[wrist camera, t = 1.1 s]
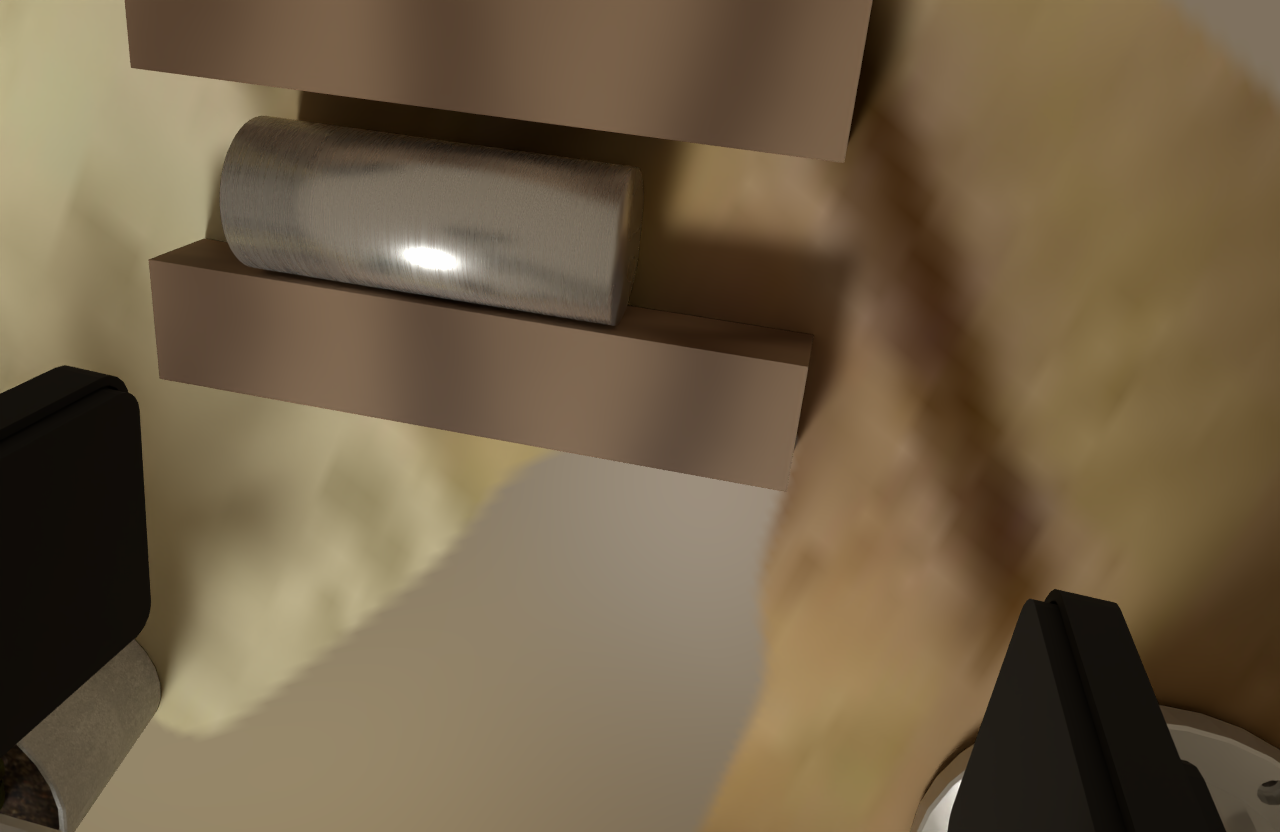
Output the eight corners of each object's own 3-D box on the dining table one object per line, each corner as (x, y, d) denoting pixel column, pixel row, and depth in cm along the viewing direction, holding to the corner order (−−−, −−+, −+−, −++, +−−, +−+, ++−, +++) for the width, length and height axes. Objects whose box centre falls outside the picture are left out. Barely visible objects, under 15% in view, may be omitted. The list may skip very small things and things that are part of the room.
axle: (647, 143, 27) (610, 205, 24) (639, 281, 29) (604, 354, 26) (287, 95, 28) (206, 147, 25) (307, 230, 31) (235, 293, 27)
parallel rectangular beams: (872, -3, 25) (873, -2, 22) (793, 451, 29) (786, 491, 27) (181, -79, 27) (116, -85, 25) (212, 349, 32) (159, 378, 30)
